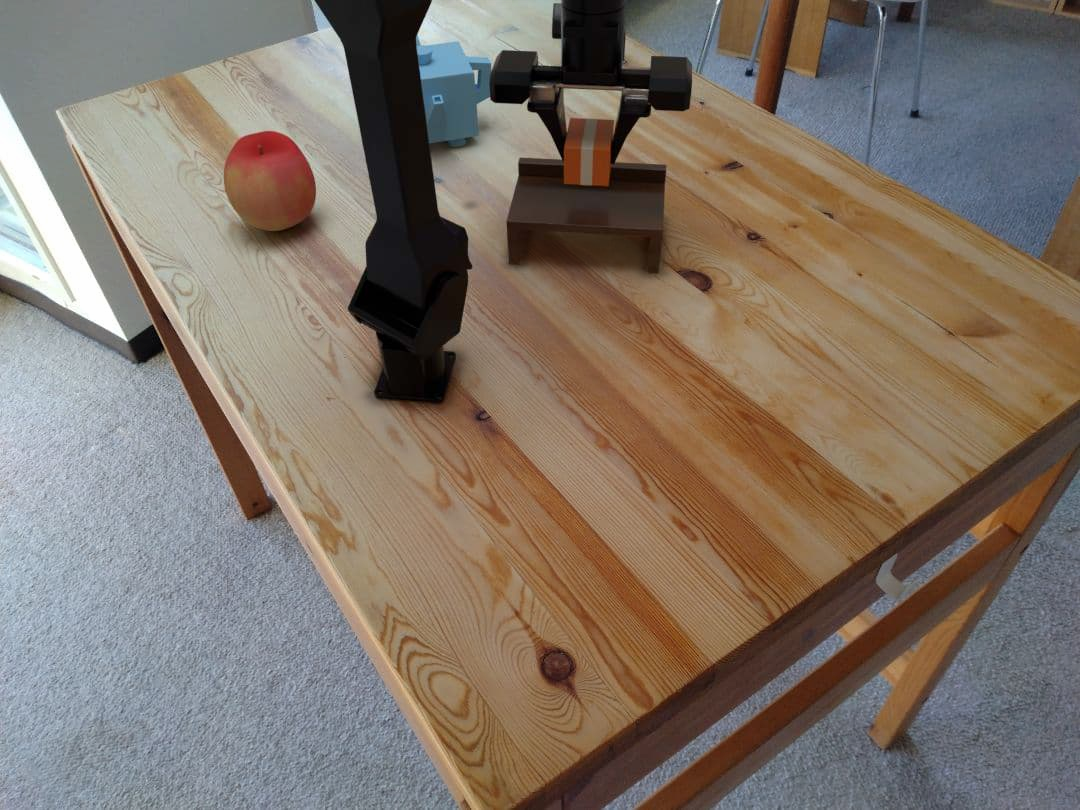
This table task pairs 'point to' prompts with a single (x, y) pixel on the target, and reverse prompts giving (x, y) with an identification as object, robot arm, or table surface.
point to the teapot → (452, 91)
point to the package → (588, 151)
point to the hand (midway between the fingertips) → (589, 160)
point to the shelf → (588, 205)
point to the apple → (269, 181)
